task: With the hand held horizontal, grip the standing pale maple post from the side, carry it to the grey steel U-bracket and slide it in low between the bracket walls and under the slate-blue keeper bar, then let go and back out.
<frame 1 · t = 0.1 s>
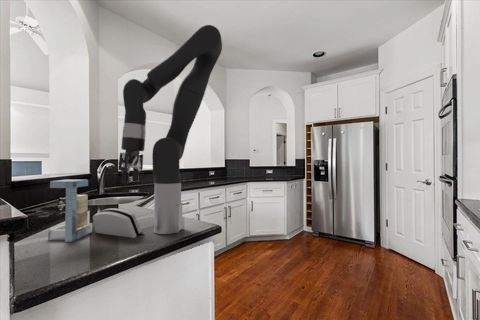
hand: (130, 182, 86), 17 cm above the counter, tool pointing down, fingers open, 8 cm apart
gray curved wedge: (116, 235, 82), on the counter
keeper: (71, 235, 80), on the counter
link: (78, 227, 90), on the counter
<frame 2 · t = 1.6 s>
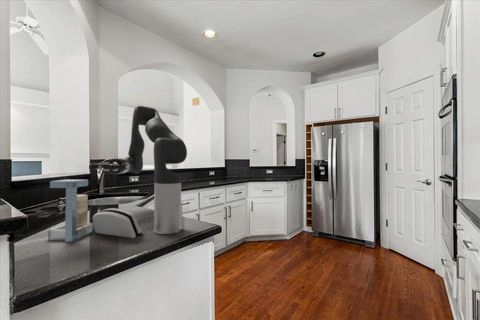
hand: (100, 167, 101), 22 cm above the counter, tool horizontal, fingers open, 8 cm apart
nothing on the counter moved.
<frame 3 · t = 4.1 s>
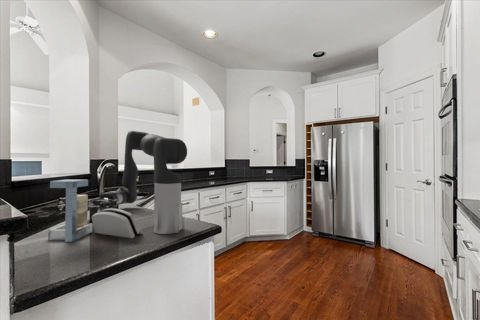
hand: (89, 205, 96), 7 cm above the counter, tool horizontal, fingers open, 8 cm apart
nothing on the counter moved.
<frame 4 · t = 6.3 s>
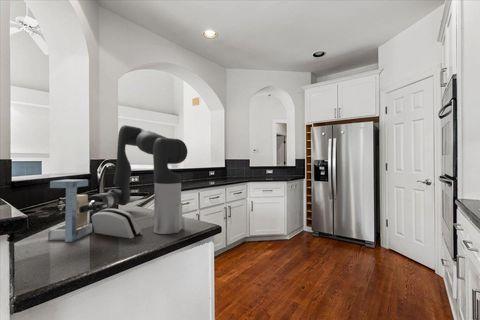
hand: (74, 210, 87), 7 cm above the counter, tool horizontal, fingers closed on link, 4 cm apart
link: (78, 227, 90), on the counter, touching gripper
everything else where it was.
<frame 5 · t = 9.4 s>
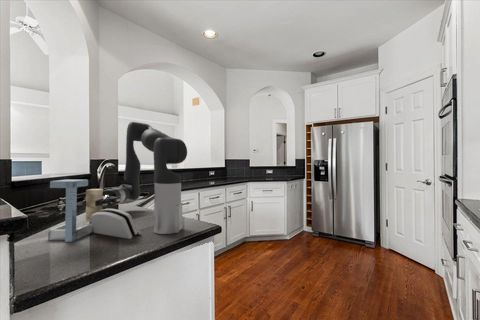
hand: (90, 203, 90), 9 cm above the counter, tool horizontal, fingers closed on link, 4 cm apart
link: (94, 220, 93), point 2 cm above the counter, touching gripper
everything else where it was.
when the fingers open (9 cm above the counter, at t = 12.8 s): link drops 2 cm, on the counter.
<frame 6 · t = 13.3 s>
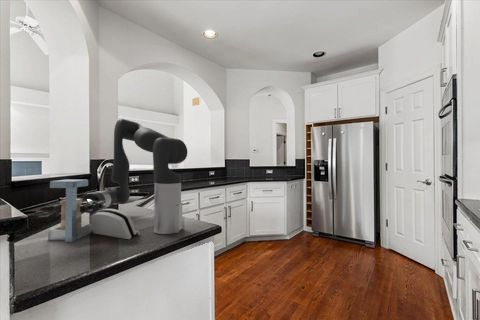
hand: (67, 209, 78), 9 cm above the counter, tool horizontal, fingers open, 8 cm apart
link: (71, 235, 80), on the counter
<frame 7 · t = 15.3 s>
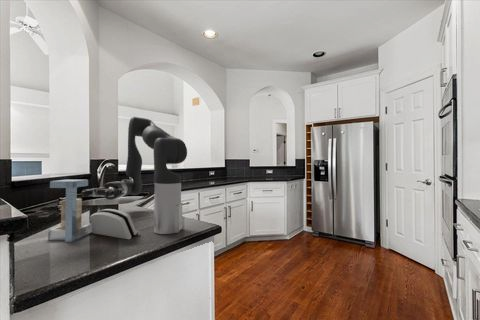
hand: (94, 194, 92), 12 cm above the counter, tool horizontal, fingers open, 8 cm apart
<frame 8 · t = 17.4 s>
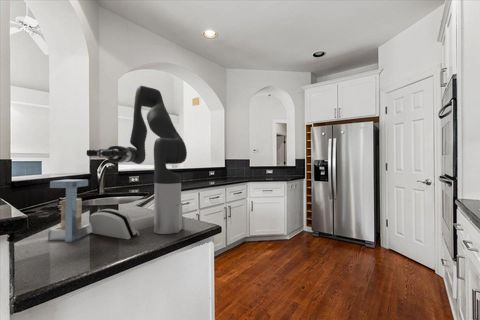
hand: (99, 152, 92), 28 cm above the counter, tool horizontal, fingers open, 8 cm apart
at the end: link 0.2 cm off-centre on the keeper, point 0.0 cm above the keeper's base; link tilted 0°; the gripper is holding nothing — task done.
